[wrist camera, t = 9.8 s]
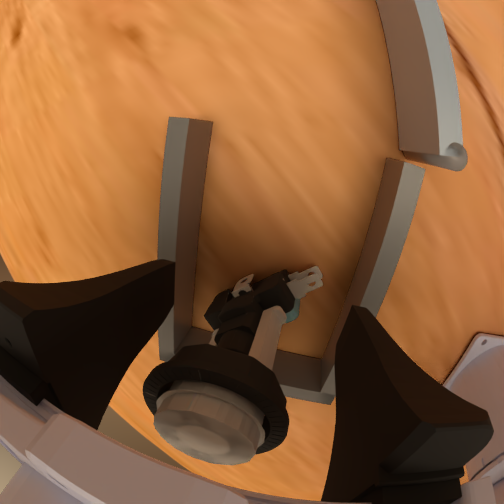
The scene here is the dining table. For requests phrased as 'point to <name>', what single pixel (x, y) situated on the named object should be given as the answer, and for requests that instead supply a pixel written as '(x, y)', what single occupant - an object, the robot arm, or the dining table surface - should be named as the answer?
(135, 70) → the dining table surface
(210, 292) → the dining table surface
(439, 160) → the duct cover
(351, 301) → the duct bay
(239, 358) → the push button
